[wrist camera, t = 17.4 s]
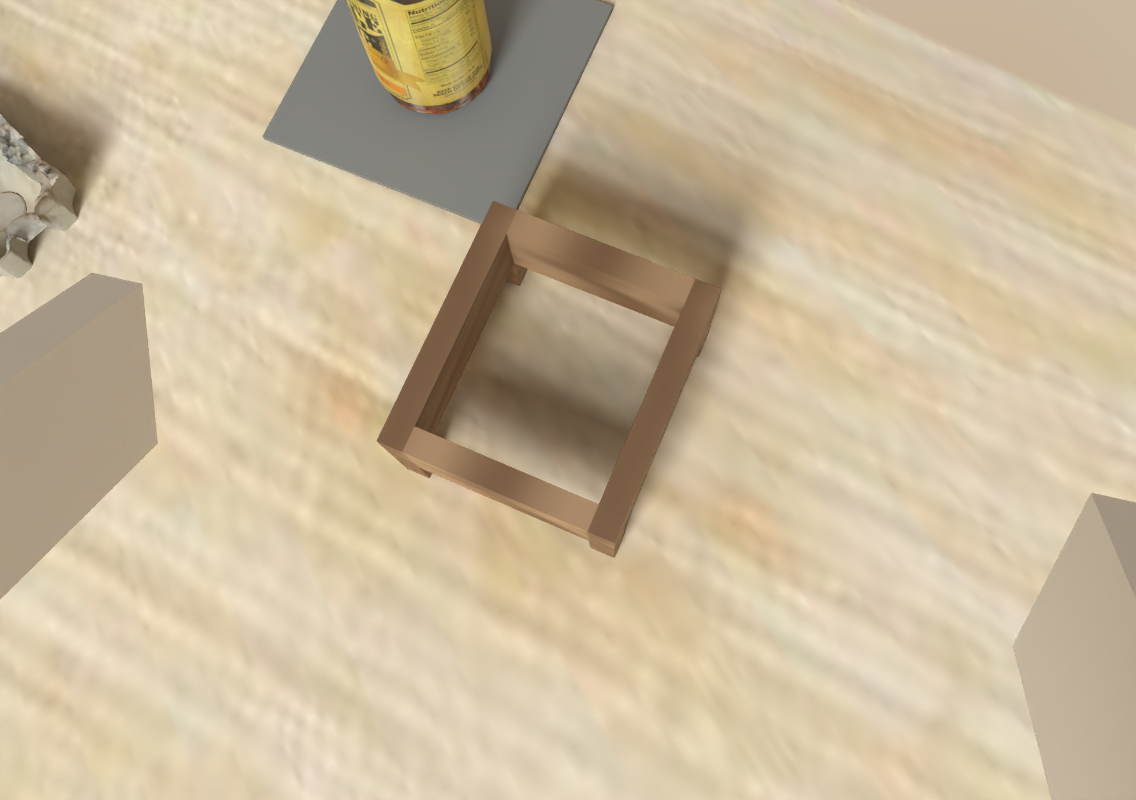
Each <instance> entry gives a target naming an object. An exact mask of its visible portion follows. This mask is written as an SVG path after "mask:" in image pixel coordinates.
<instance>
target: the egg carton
mask: <svg viewBox="0 0 1136 800" xmlns="http://www.w3.org/2000/svg"><path fill="white" fill-rule="evenodd" d="M24 140H25V139H24V138H23V136H21V135H20V134H19V133H18V132H17V131H16V130H15V129H14V128H13V127H12V126H11V125H10V124H9V123H8V122H7V121H6V120H5V118H4V117H3V116H2V115H1V114H0V149H1V150H2V151H3V156H5V157H6V158H8V160H7V161H9V162H10V163H12V164H15V165H16V166H17V167H18V168H19V169H21V170H22V171H23V172H24V173H26V174H27V175H28V176H29V177H31V178H32V179H33V180H35V181H36V182H38V183H40V184H41V187H42V189H41V192H40V196H39V197H38V198H37V199H36V201H35V213H30V212H29V213H27V214H26V211H27V208H26V202H25V201H24V199H23V198H22V197H21V196H19V195H18V194H17V193H14V192H3V193H0V231H6V233H5V241H6V244H7V245H6V248H7V252H6V254H5V255H4V256H3V257H1V258H0V277H1V276H12V277H15V278H20V277H21V276H23V275H24V274H25V273H26V272H27V271H28V270H30V269H31V267H32V263H31V262H30V260H29V257H28V246H29V244H30V242H31V240H32V239H33V238H34V237H35V236H37V235H38V234H39V233H40V232H42V231H43V230H44V229H48V228H57V229H60V230H62V231H66V230H67V229H68V228H69V227H70V226H71V225H72V224H73V223H74V222H76V220H77V219H78V217H77V215H76V213H75V211H74V209H73V198H74V196H75V194H76V192H77V191H76V188H75V187H74V185H73V184H71V182H70V181H69V180H68V178H67V177H66V176H65V175H64V174H63V173H62V172H61V171H59V170H57V169H56V168H55V167H53V166H52V165H50V164H49V163H47V162H45V161H44V160H42V159H41V158H40V157H39V156H38V155H37V154H36V153H35V152H34V150H33V149H32V148H30V147H29V146H28V145H27V143H26V142H25V141H24Z"/></svg>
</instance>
